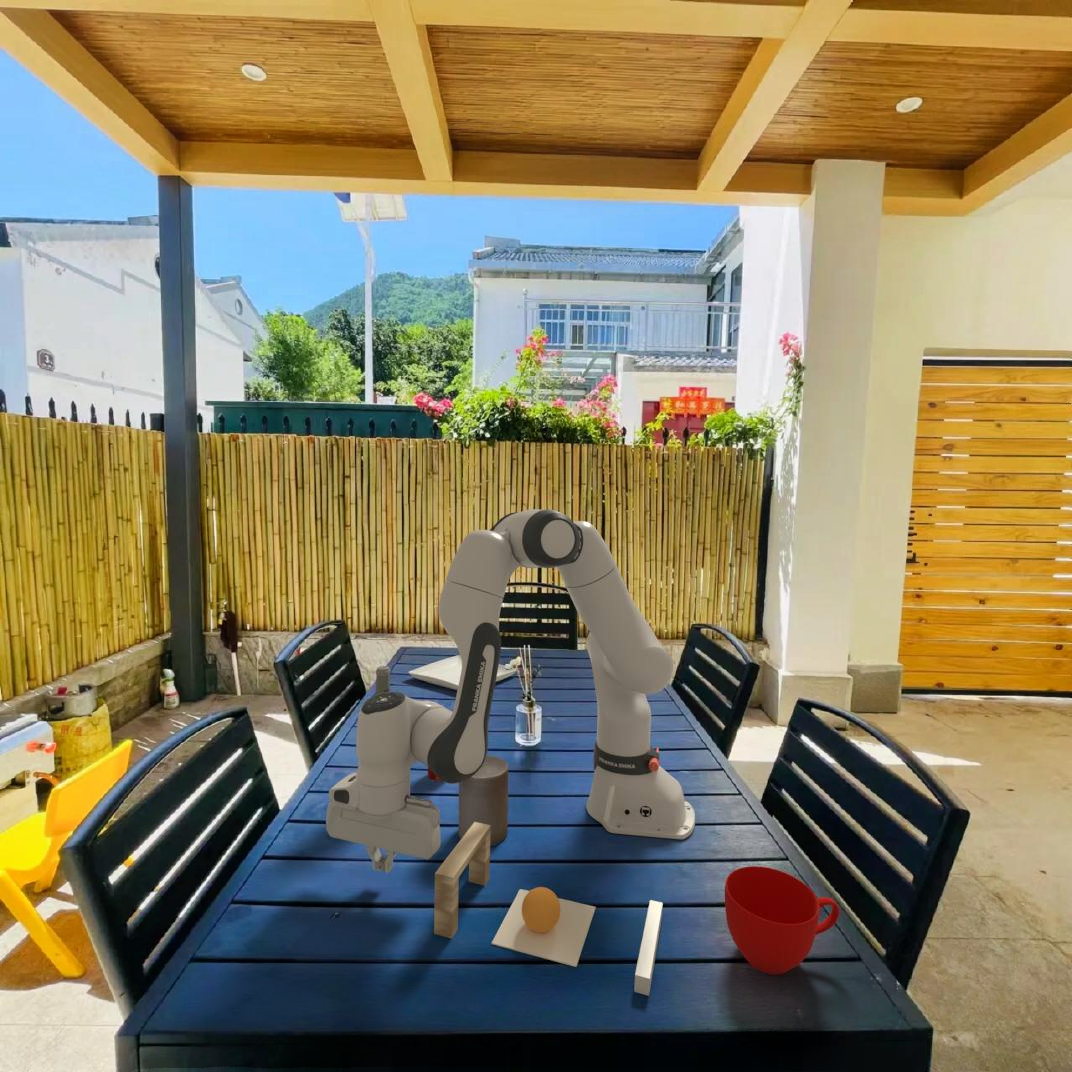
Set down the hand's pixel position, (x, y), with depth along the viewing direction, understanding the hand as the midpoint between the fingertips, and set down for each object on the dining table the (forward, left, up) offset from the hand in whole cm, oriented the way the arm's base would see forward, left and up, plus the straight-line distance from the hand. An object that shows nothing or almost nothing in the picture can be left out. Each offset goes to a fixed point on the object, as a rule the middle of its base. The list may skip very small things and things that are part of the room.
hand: (382, 869), depth 105 cm
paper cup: (+8, -38, -3) cm, 39 cm away
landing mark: (-29, 0, -3) cm, 29 cm away
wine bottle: (+13, -21, -3) cm, 25 cm away
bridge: (-15, 0, -3) cm, 15 cm away
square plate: (+32, -104, -3) cm, 109 cm away
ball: (-28, +1, 0) cm, 28 cm away
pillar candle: (-10, -20, -3) cm, 23 cm away
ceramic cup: (-63, -6, -3) cm, 64 cm away
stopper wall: (-45, 0, -3) cm, 45 cm away
